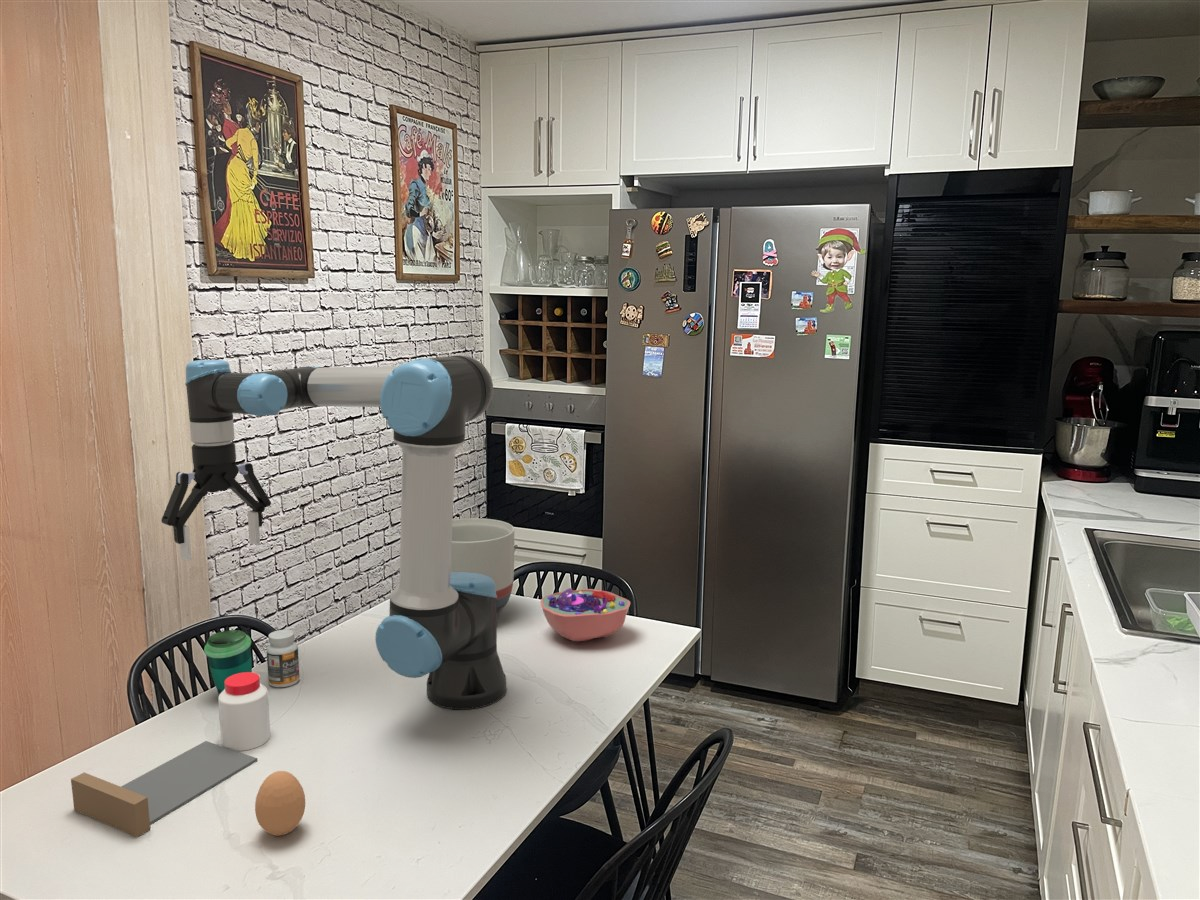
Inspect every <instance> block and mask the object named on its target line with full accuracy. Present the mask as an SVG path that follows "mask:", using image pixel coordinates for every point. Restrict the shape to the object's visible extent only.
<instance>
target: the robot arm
mask: <svg viewBox="0 0 1200 900" xmlns="http://www.w3.org/2000/svg"><path fill="white" fill-rule="evenodd" d="M185 386H186V395H187V396H186V398H187V408H188V418H189V419H188V420H189V431H190V442H192V443H193V444H192V445H191V456H192V465H193V470H192V472H182V471H178V472H176V474H175V485H174V487H173V491H172V492H171V494H170V497H169V500H168V501H167V505H166V507H165V510H164V513H163V515H162V517H161V523H162V524H163V525H166V526H169V527H172V529H173V530H172V531H173V539H174V542H175V543H176V544H178V545H179V552H180V559H182V560H183V561H187V562H189V561H192V550H191V539H190V538H191V537H190V529H189V528H190V527H189V525H186V523H187V521H188V519H189V518H190V517H191V515H192V514H193V512H194V511H195V510H196V508H197V507H198V505H199V503H200V502H201V500H202V499H203V498H204V497H205V496H207V494H208V493H210V494H212V493H217V492H219V491H228V489H230V491H232V492H233V494H235V495H236V496H237V497H239V499H241V501H243V502H244V503H245V504H246V505H247V506H248V507H249V508H250V509H252V510H250V509H249V510H247V511H246V512H247V522H248V541H249V543H250V544H253V545H255V546H259V545H261V534H260V527H262V526H263V523H264V521H263V512H264V511H265V510H266V508H267V507H270V506H271V505H272V502H271V500H270V498H269V497H268V495H267V493H266V491H265V489H264V488H263V486H262V485H261V483H260V481H259V479H258V478H257V477H256V475H255V471H254V467H253V464H252V463H251V462H250V463H249V462H245V461H242V462H241V463H240V464H238V465H237V464H236V461H237V455H236V454H237V453H236V451H237V450H236V444H235V442H233V441H234V440H235V426H234V414H239V415H249V416H250V415H251V416H256V417H263V416H275V415H277V414H278V413H280V412H281V411H283V410H288V409H293V408H295V409H296V408H301V407H303V408H304V407H305V408H306V407H309V408H310V407H311V408H312V407H313V408H314V407H315V408H316V407H346V408H347V407H351V408H354V407H355V408H356V407H357V408H358V407H359V408H362V407H363V408H364V407H365V408H367V407H368V408H380V411H381V412H380V413H381V415H382V417H383V418H384V419H386V420H387V422H386V424H387V425H388V427H390V429H392V430H393V441H394V442H395V443H396V444H397V446H399V448H400V449H401V450H402V452H401V453H402V455H401V456H402V457H401V458H402V462H401V498H400V499H401V501H400V505H401V506H400V507H401V508H400V542H399V543H400V544H399V546H400V547H399V549H400V550H399V582H398V583H399V585H398V586H396V587H395V588H394V589H392V591H391V592H390V595H389V615H388V616H386V617H385V618H384V619H382V621H381V622H380V623H379V624H378V626H377V628H376V631H375V636H374V637H375V645H376V649H377V652H378V654H379V656H380V659H382V661H383V662H385V663H386V664H387V667H388V668H390V670H392V671H393V672H394V673H396V674H398V675H400V676H402V677H406V678H410V679H411V678H412V679H417V678H421V677H424V676H426V675H428V676H427V679H426V696H427V699H428V700H429V701H430V702H431V703H432V704H435V705H436V706H439V707H442V708H446V709H453V710H468V709H469V710H472V709H477V708H482V707H486V706H488V705H491V704H493V703H496V702H498V701H499V700H501V699H502V698H503V697H504V696H505V695H506V693H507V677H506V674H505V672H504V668H503V666H502V663H501V660H500V657H499V653H498V649H497V648H498V647H497V645H498V644H497V642H498V641H497V638H498V637H497V636H498V635H497V633H498V631H497V630H498V629H497V626H498V625H497V622H498V621H497V620H498V619H497V614H498V613H497V607H496V598H497V595H496V586H495V582H494V581H493V579H491V578H490V577H488V576H486V575H482V574H477V573H468V572H453V573H451V548H452V521H453V520H454V518H453V517H454V516H453V515H454V512H453V511H454V494H455V493H454V492H455V491H454V490H455V489H454V487H455V467H456V466H455V463H456V451H457V450H458V449H459V448H461V446H463V444H464V443H465V441H466V440H465V439H466V437H465V436H466V423H467V422H468V423H469V422H470V421H473V420H476V419H477V418H479V417H480V416H481V415H482V414H484V412H486V410H487V409H488V407H489V406H490V405H491V401H492V399H493V395H494V384H493V379H492V376H491V374H490V372H489V371H488V369H487V367H486V366H484V364H483V363H481V362H480V361H479V360H477V359H475V358H472V357H471V356H467V355H461V354H460V355H449V356H439V357H430V358H429V357H427V358H418V359H414V360H412V361H408V362H404V363H402V364H400V365H398V366H343V367H342V366H341V367H337V366H335V367H334V366H332V367H329V366H328V367H319V366H309V365H308V366H300V367H297V368H296V367H295V368H287V369H276V370H267V371H266V370H265V371H257V372H256V371H255V372H231V369H230V363H229V362H228V361H227V360H223V359H198V360H191V361H189V362H188V363H187V364H186V365H185ZM238 474H240V475H242V477H243V478H244V480H245V482H246V483H247V485H248V487H249V489H250V490H251V493H252V494H253V496H252V495H251V494H250V493H249V492H248V490H246V489H245V488H244V487H243V486H242V485H241V484H240V483H239V482H238V480H236V477H237V475H238ZM192 481H194V482H195V484H194V485H193V487H192V489H191V492H190V494H189V495H188V496H187V498H186V499H185V501H184V498H185V496H186V493H187V491H188V488H189V485H190V484H191V483H192ZM254 497H255V498H254ZM183 501H184V503H183Z"/></svg>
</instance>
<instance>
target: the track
mask: <svg viewBox="0 0 1200 900" xmlns="http://www.w3.org/2000/svg"><path fill="white" fill-rule="evenodd" d="M256 762H258V758H257V757H256V756H255V757H254V756H252V755H250V754H245V753H243V752H241V751H234V750H231V749H229V748H226V747H223V746H222V745H219V744H216V743H213V742H210V741H207V740H204V741H202V742H201V743H199V744H197V745H195V746H194V747H191V748H190V749H188V750H186V751H183V753H180V754H179V755H177V756H175V757H173V758H172V759H169V760H167V761H166V762H164V763H162V764H160V765H158V766H157V767H155V768H153V769H151V770H148V771H147V772H146V773H144V774H142V775H139V776H138V777H136V778H134V779H132V780H131V781H128V782H127V783H125V784H123V785H121V786H119V785H117V784H116V783H112V782H110V781H107V780H106V779H105V780H104V779H103V778H99V777H97V776H94V775H92V774H90V773H87V772H82V773H80V774H78V775H76V776H74V777H72V778H70V783H71V791H72V792H71V793H72V800H73V801H72V803H73V809H74V811H75V812H77V813H81V814H83V815H84V816H87V817H90V818H91V819H93V820H97V821H99V822H101V823H104V824H105V825H107V826H111V827H113V828H115V829H117V830H120V831H122V832H124V833H127V834H129V835H132V836H133V837H137V838H139V837H140V836H142V835H144V834H146V832H149V831H150V830H151V825H153V824H155V823H156V822H157V821H159V820H160V819H162V818H164V817H166V816H167V815H168V814H169V815H170V813H172V812H174V811H176V810H177V809H179V808H181V807H182V806H185V804H187V803H189V802H191V801H192V800H194V799H195V798H198V797H199V796H200V795H203V794H204V793H205V792H207V791H209V790H210V789H212V788H214V787H215V786H217V785H219V784H221V783H222V782H224V781H226V780H227V779H229V778H230V777H233V776H234V775H235V774H237V773H239V772H241V771H243V770H244V769H246V768H248V767H249V766H251V765H252V764H254V763H256Z"/></svg>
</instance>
